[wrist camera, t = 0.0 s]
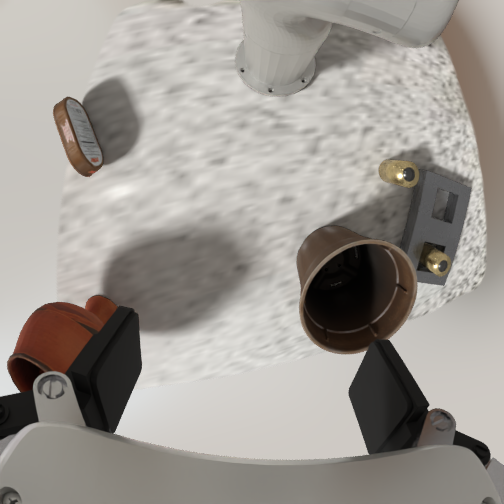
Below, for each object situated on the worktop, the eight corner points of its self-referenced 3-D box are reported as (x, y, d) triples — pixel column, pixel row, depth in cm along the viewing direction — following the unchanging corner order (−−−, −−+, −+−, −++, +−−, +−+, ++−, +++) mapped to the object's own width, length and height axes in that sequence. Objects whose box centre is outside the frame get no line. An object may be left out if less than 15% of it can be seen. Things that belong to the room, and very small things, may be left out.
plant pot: (356, 196, 45) (402, 217, 30) (383, 275, 49) (425, 319, 34) (269, 238, 47) (277, 279, 32) (306, 313, 52) (325, 371, 37)
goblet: (53, 297, 51) (-14, 361, 28) (101, 253, 48) (17, 321, 24) (107, 361, 56) (62, 440, 33) (163, 330, 53) (121, 427, 29)
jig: (418, 169, 43) (440, 172, 36) (462, 186, 43) (484, 191, 37) (392, 273, 49) (409, 289, 43) (436, 279, 50) (455, 294, 43)
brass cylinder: (380, 156, 42) (400, 158, 36) (400, 163, 43) (421, 165, 36) (376, 179, 44) (395, 184, 37) (396, 184, 44) (416, 190, 37)
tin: (72, 107, 39) (45, 102, 31) (84, 97, 39) (58, 90, 31) (98, 175, 43) (73, 180, 35) (112, 166, 43) (87, 170, 35)
